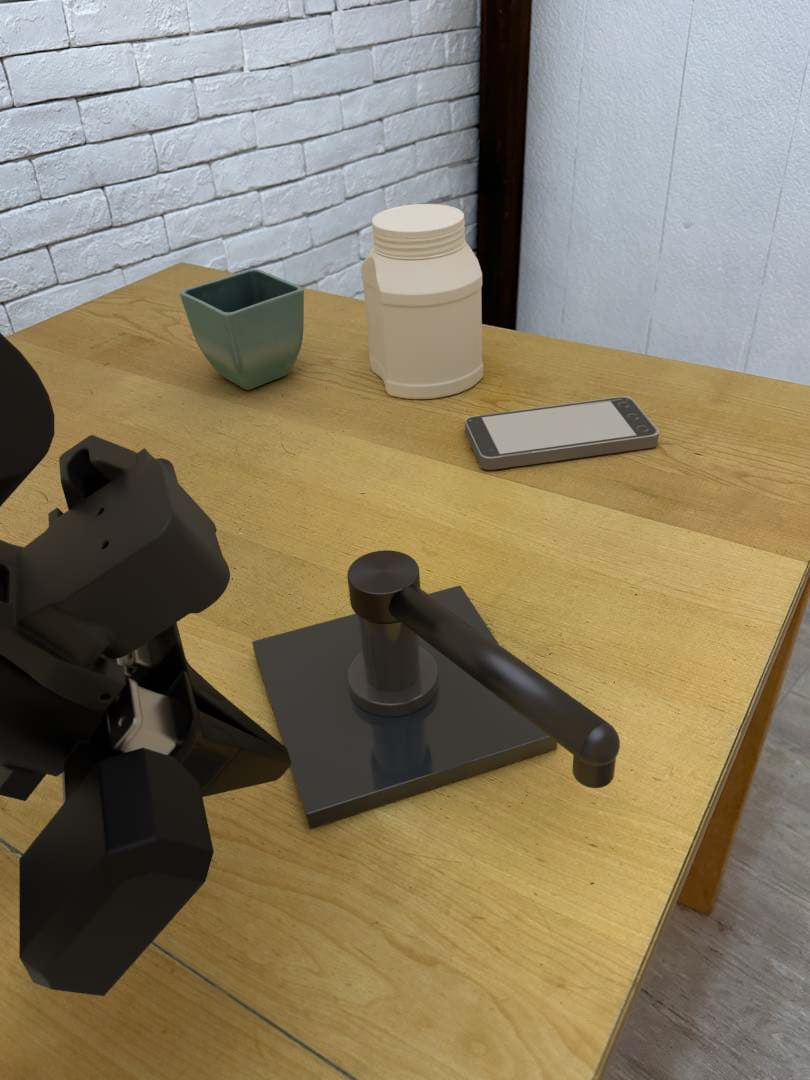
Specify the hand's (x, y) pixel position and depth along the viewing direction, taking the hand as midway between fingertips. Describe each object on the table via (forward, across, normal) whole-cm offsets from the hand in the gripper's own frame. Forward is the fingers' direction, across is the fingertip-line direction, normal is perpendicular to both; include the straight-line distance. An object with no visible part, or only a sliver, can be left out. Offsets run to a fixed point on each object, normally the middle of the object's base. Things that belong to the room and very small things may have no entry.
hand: (283, 765), depth 37 cm
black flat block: (+13, +11, +1) cm, 17 cm away
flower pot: (+14, +59, +1) cm, 60 cm away
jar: (+25, +52, -10) cm, 58 cm away
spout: (+10, +5, -5) cm, 12 cm away
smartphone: (+29, +34, -15) cm, 47 cm away
